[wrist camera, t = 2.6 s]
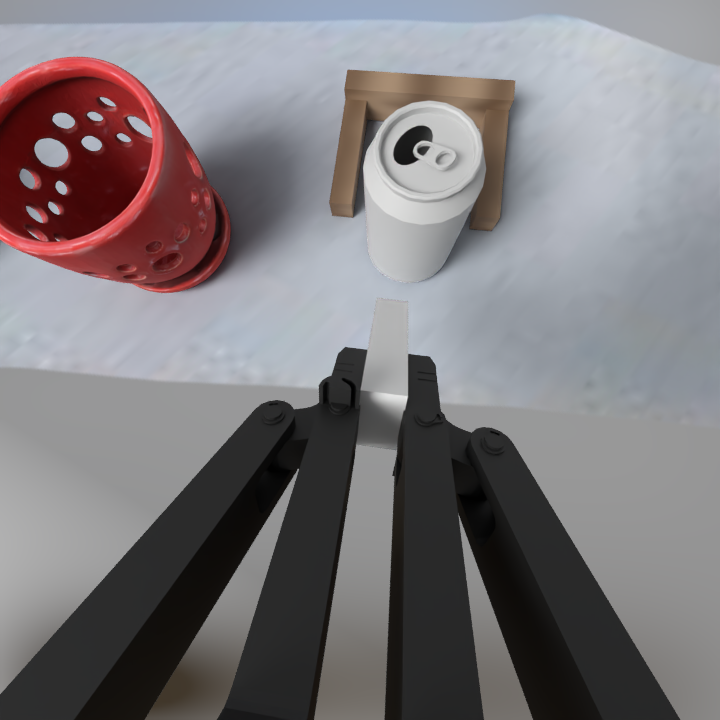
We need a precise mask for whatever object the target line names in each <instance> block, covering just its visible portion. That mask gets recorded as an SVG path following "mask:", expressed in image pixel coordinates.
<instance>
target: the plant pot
mask: <svg viewBox="0 0 720 720" xmlns="http://www.w3.org/2000/svg"><path fill="white" fill-rule="evenodd" d="M100 97H105V98H108V99H110V100H111V101H112V102H114V104H115V105H116V107H113V106H109V105H107V104H105V103H104V102H102V101H101V100H100ZM88 112H96V113H98V114H100V115H102V117H103V120H102V121H94V120H92V119H90V118H89V117H88V116H87V113H88ZM56 113H67V114H69V115H70V116H71V117H73V118H74V120H75V125H74V126H73V127H72V128H69V129H64V128H61V127H59V126H57V125H56V124H55V123H54V122H53V121H52V118H53V116H54V115H55V114H56ZM128 116H132V117H134V116H135V117H138V118H139V119H141V120H142V121H144V122H145V123H146V124H147V125H148V126H149V127H150V128H151V129H152V137H153V138H150V137H147V136H145V135H143V134H141V133H140V132H138V131H137V130H135V129H134V128H133V127H132V126H131V124H130V123H129V121H128V119H127V117H128ZM119 133H123V134H125V135H127V136H128V137H129V138H130V139H131V142H123V141H121V140H120V139H119V138H118V137H117V134H119ZM85 136H93V137H96V138H97V139H98V140H100V141H101V143H102V147H101V149H100V150H98V151H90V150H88V149H86V148H85V147H84V146H83V145H82V143H81V141H82V139H83V138H84V137H85ZM44 138H52V139H55V140H58V141H60V142H61V143H62V144H64V145H65V147H66V148H67V151H68V159H67V161H66V162H65V164H63V165H62V166H59V167H49V166H46V165H45V164H43V163H41V161H40V160H39V159H38V158H37V156H36V154H35V150H34V147H35V144H36V142H37V141H38V140H40V139H44ZM23 168H24V169H26V170H28V171H29V172H30V173H31V174H32V175H33V177H34V179H35V187H34V188H33V189H30V188H28V187H26V186H25V185H24V184H23V183H22V182H21V180H20V177H19V174H20V171H21V169H23ZM57 181H61V182H63V183H64V184H65V185H66V187H67V193H66V194H65V195H62V194H60V193H59V192H58V191H57V190H56V188H55V185H56V182H57ZM49 201H50V202H52V203H54V204H55V205H56V206H57V207H58V209H59V211H60V214H59V215H57V214H54V213H53V212H52V211H51V210H50V209H49V207H48V202H49ZM26 206H29V207H31V208H33V209H34V210H36V211H37V212H38V213H39V214H40V215H41V217H42V220H43V223H40V222H38V221H36V220H35V219H33V218H32V217H31V216H30V215H29V213H28V212H27V210H26ZM27 230H28V231H30V232H31V233H33V234H34V235H35V236H37V237H38V238H39V239H40V240H39V239H37V238H35V237H34V236H32V235H31V234H30V233H29V232H28V231H27ZM230 233H231V226H230V218H229V214H228V211H227V208H226V206H225V204H224V202H223V200H222V199H221V197H220V195H219V194H218V193H217V192H216V190H215V189H214V188H213V187H212V186H210V184H209V181H208V179H207V176H206V174H205V172H204V170H203V168H202V166H201V164H200V162H199V160H198V158H197V156H196V155H195V153H194V151H193V149H192V148H191V146H190V144H189V143H188V141H187V140H186V138H185V137H184V136H183V135H182V133H181V132H180V130H179V129H178V127H177V126H176V124H175V123H174V121H173V120H172V118H171V117H170V116H169V114H168V113H167V112H166V110H165V109H164V108H163V107H162V105H161V104H160V103H159V102H158V101H157V99H156V98H155V97H154V96H153V95H152V93H151V92H150V91H149V90H148V89H147V88H146V87H145V86H144V84H142V83H141V82H140V81H139V80H138V79H137V78H135V77H134V76H133V75H131V74H130V73H128V72H127V71H125V70H124V69H122V68H120V67H119V66H116V65H114V64H112V63H109V62H106V61H103V60H99V59H95V58H88V57H66V58H59V59H54V60H50V61H47V62H43V63H40V64H38V65H35V66H32V67H30V68H28V69H26V70H24V71H22V72H20V73H19V74H17V75H15V76H14V77H12V78H11V79H10V80H8V81H7V82H6V83H5V84H3V85H2V86H1V87H0V240H1V241H3V242H4V243H6V244H7V245H9V246H11V247H13V248H15V249H17V250H19V251H22V252H24V253H27V254H29V255H32V256H34V257H37V258H39V259H42V260H44V261H47V262H49V263H52V264H55V265H57V266H60V267H63V268H65V269H69V270H72V271H75V272H78V273H81V274H85V275H89V276H93V277H97V278H103V279H108V280H112V281H117V282H123V283H132V284H134V285H136V286H138V287H140V288H142V289H145V290H148V291H153V292H159V293H172V292H179V291H183V290H186V289H189V288H192V287H194V286H196V285H198V284H199V283H201V282H202V281H204V280H206V279H207V278H208V277H209V276H210V275H211V274H212V273H213V272H214V271H215V270H216V269H217V268H218V266H219V265H220V264H221V262H222V260H223V259H224V257H225V254H226V252H227V249H228V245H229V242H230ZM55 238H56V239H58V240H60V241H57V240H56V239H55Z"/></svg>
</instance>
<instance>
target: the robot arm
mask: <svg viewBox="0 0 720 720" xmlns="http://www.w3.org/2000/svg"><path fill="white" fill-rule="evenodd" d="M356 445H363V446H370V447H378V448H385V449H392V450H396V449H397V457H396V462H395V466H394V471H393V476H395V478H394V502H393V503H394V504H393V526H392V551H391V575H390V600H389V623H388V647H387V671H386V695H385V720H484V717H483V709H482V701H481V694H480V687H479V686H480V685H479V678H478V669H477V662H476V653H475V645H474V637H473V630H472V621H471V613H470V606H469V597H468V589H467V581H466V573H465V565H464V557H463V549H462V541H461V533H460V525H459V517H458V514H459V516H460V519H461V522H462V524H463V527H464V530H465V533H466V536H467V538H468V541H469V544H470V546H471V549H472V552H473V555H474V557H475V560H476V563H477V566H478V569H479V571H480V574H481V577H482V580H483V583H484V585H485V588H486V591H487V594H488V596H489V599H490V602H491V605H492V607H493V610H494V613H495V616H496V618H497V621H498V624H499V627H500V629H501V632H502V635H503V638H504V640H505V643H506V646H507V649H508V651H509V654H510V657H511V660H512V663H513V665H514V668H515V671H516V673H517V676H518V679H519V682H520V684H521V687H522V690H523V693H524V696H525V698H526V701H527V704H528V707H529V709H530V712H531V715H532V718H533V720H680V718H679V717H678V715H677V714H676V712H675V710H674V709H673V707H672V705H671V704H670V702H669V700H668V699H667V697H666V695H665V694H664V692H663V690H662V689H661V687H660V685H659V684H658V682H657V681H656V679H655V677H654V676H653V674H652V672H651V671H650V669H649V667H648V666H647V664H646V662H645V661H644V659H643V657H642V656H641V654H640V652H639V651H638V649H637V648H636V646H635V644H634V643H633V641H632V639H631V638H630V636H629V634H628V633H627V631H626V629H625V628H624V626H623V624H622V623H621V621H620V619H619V618H618V616H617V614H616V613H615V611H614V610H613V608H612V606H611V604H610V603H609V601H608V600H607V598H606V596H605V595H604V593H603V591H602V590H601V588H600V586H599V585H598V583H597V581H596V580H595V578H594V576H593V575H592V573H591V571H590V570H589V568H588V567H587V565H586V563H585V562H584V560H583V558H582V556H581V555H580V553H579V552H578V550H577V548H576V547H575V545H574V543H573V542H572V540H571V538H570V537H569V535H568V533H567V532H566V530H565V528H564V527H563V525H562V523H561V522H560V520H559V519H558V517H557V515H556V513H555V512H554V510H553V509H552V507H551V505H550V504H549V502H548V500H547V499H546V497H545V495H544V494H543V492H542V490H541V489H540V487H539V486H538V484H537V482H536V480H535V479H534V477H533V476H532V474H531V472H530V470H529V469H528V467H527V466H526V464H525V462H524V461H523V459H522V457H521V456H520V454H519V452H518V451H517V449H516V448H515V446H514V444H513V443H512V441H511V440H510V439H509V438H508V437H507V436H506V435H505V434H503V433H502V432H500V431H498V430H495V429H493V428H486V427H482V428H478V429H476V430H475V431H474V432H472V433H470V432H468V431H465V430H463V429H460V428H458V427H456V426H454V425H452V424H451V423H450V422H448V421H447V420H446V418H445V415H444V414H443V413H442V412H441V409H440V401H439V392H438V384H437V375H436V366H435V364H434V362H433V361H432V359H431V358H430V357H428V356H420V355H412V354H408V301H401V300H392V299H383V298H377V300H376V305H375V311H374V317H373V322H372V328H371V334H370V339H369V345H368V350H364V349H356V348H348V347H345V348H344V349H343V350H342V351H341V352H340V353H338V356H337V359H336V364H335V366H334V370H333V373H332V376H329V377H327V378H325V379H324V380H322V382H321V383H320V385H319V403H318V404H317V405H315V406H312V407H308V408H303V409H295V410H294V409H293V407H292V406H291V405H290V404H288V403H286V402H284V401H278V400H275V401H269V402H266V403H263V404H261V405H260V406H259V407H257V408H256V409H255V410H254V411H253V412H252V414H251V415H250V416H249V417H248V418H247V419H246V420H245V421H244V422H243V424H242V425H241V426H240V427H239V428H238V429H237V430H236V431H235V432H234V434H233V435H232V436H231V437H230V438H229V439H228V440H227V442H226V443H225V444H224V445H223V446H222V447H221V448H220V449H219V450H218V451H217V453H216V454H215V455H214V456H213V457H212V458H211V459H210V461H209V462H208V463H207V464H206V465H205V466H204V467H203V468H202V469H201V471H200V472H199V473H198V474H197V475H196V476H195V477H194V478H193V479H192V481H191V482H190V483H189V484H188V485H187V486H186V487H185V488H184V490H183V491H182V492H181V493H180V494H179V495H178V496H177V497H176V498H175V500H174V501H173V502H172V503H171V504H170V505H169V506H168V507H167V509H166V510H165V511H164V512H163V513H162V514H161V515H160V516H159V517H158V519H157V520H156V521H155V522H154V523H153V524H152V525H151V527H150V528H149V529H148V530H147V531H146V532H145V533H144V534H143V536H142V537H141V538H140V539H139V540H138V541H137V542H136V543H135V544H134V546H133V547H132V548H131V549H130V550H129V551H128V552H127V553H126V554H125V555H124V557H123V558H122V559H121V560H120V561H119V562H118V564H116V566H115V567H114V568H113V569H112V570H111V571H110V572H109V573H108V575H107V576H106V577H105V578H104V579H103V580H102V581H101V582H100V584H99V585H98V586H97V587H96V588H95V589H94V590H93V591H92V593H91V594H90V595H89V596H88V597H87V598H86V599H85V600H84V601H83V602H82V604H81V605H80V606H79V607H78V608H77V609H76V611H74V613H73V614H72V615H71V616H70V617H69V618H68V619H67V620H66V621H65V623H64V624H63V625H62V626H61V627H60V628H59V629H58V630H57V632H56V633H55V634H54V635H53V636H52V637H51V638H50V639H49V641H48V642H47V643H46V644H45V645H44V646H43V647H42V648H41V649H40V651H39V652H38V653H37V654H36V655H35V656H34V657H33V658H32V660H31V661H30V662H29V663H28V664H27V665H26V666H25V668H23V670H22V671H21V672H20V673H19V674H18V675H17V676H16V677H15V679H14V680H13V681H12V682H11V683H10V684H9V685H8V686H7V688H6V689H5V690H4V691H3V692H2V693H1V694H0V720H145V718H146V717H147V715H148V713H149V712H150V710H151V708H152V707H153V705H154V703H155V702H156V700H157V699H158V697H159V695H160V694H161V692H162V690H163V689H164V687H165V685H166V684H167V682H168V681H169V679H170V677H171V676H172V674H173V672H174V671H175V669H176V668H177V666H178V664H179V662H180V661H181V659H182V658H183V656H184V654H185V653H186V651H187V650H188V648H189V646H190V645H191V643H192V641H193V640H194V638H195V636H196V635H197V633H198V631H199V630H200V628H201V627H202V625H203V623H204V622H205V620H206V618H207V617H208V615H209V614H210V612H211V610H212V609H213V607H214V605H215V604H216V602H217V600H218V599H219V597H220V596H221V594H222V592H223V591H224V589H225V587H226V586H227V584H228V583H229V581H230V579H231V578H232V576H233V574H234V573H235V571H236V569H237V568H238V566H239V565H240V563H241V561H242V559H243V558H244V556H245V555H246V553H247V551H248V550H249V548H250V546H251V545H252V543H253V542H254V540H255V538H256V537H257V535H258V533H259V532H260V530H261V529H262V527H263V525H264V524H265V522H266V520H267V519H268V517H269V516H270V514H271V512H272V510H273V509H274V507H275V505H276V504H277V502H278V500H279V499H280V497H281V496H282V494H283V493H284V491H285V489H286V488H287V486H288V484H289V483H290V481H291V480H292V478H293V476H294V474H295V473H296V471H297V469H299V472H298V475H297V479H296V481H295V485H294V488H293V491H292V494H291V497H290V501H289V504H288V507H287V511H286V514H285V517H284V520H283V523H282V527H281V530H280V533H279V536H278V540H277V543H276V546H275V549H274V553H273V556H272V559H271V562H270V566H269V569H268V572H267V575H266V579H265V582H264V585H263V588H262V591H261V595H260V598H259V601H258V604H257V608H256V611H255V614H254V617H253V620H252V624H251V627H250V631H249V634H248V637H247V640H246V643H245V646H244V650H243V653H242V656H241V660H240V663H239V666H238V669H237V672H236V675H235V679H234V682H233V685H232V688H231V691H230V694H229V697H228V700H227V702H226V704H225V707H224V709H223V710H222V712H221V714H220V715H219V717H218V719H217V720H314V716H315V710H316V703H317V697H318V691H319V684H320V677H321V671H322V664H323V658H324V652H325V646H326V639H327V632H328V626H329V620H330V613H331V607H332V600H333V594H334V588H335V581H336V575H337V568H338V562H339V555H340V549H341V542H342V536H343V529H344V523H345V517H346V510H347V504H348V497H349V491H350V484H351V478H352V471H353V465H354V459H355V449H356Z"/></svg>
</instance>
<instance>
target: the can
mask: <svg viewBox="0 0 720 720" xmlns="http://www.w3.org/2000/svg"><path fill="white" fill-rule="evenodd" d="M483 151H484V148H483V142H482V137H481V133H480V132H479V130H478V128H477V126H476V124H475V123H474V121H473V120H472V119H471V118H470V117H469V116H468V115H466V114H465V113H464V112H463V111H462V110H461V109H458V108H456V107H454V106H452V105H450V104H447V103H443V102H436V101H422V102H415V103H411V104H409V105H406V106H404V107H402V108H400V109H397V110H396V111H395V112H394V113H393V114H391V115H390V116H389V117H388V118H387V119H385V120H384V122H383V124H382V125H381V127H380V128H379V130H378V132H377V133H376V136H375V138H374V140H373V141H372V143H371V144H370V146H369V148H368V149H367V152H366V156H365V161H364V165H363V175H364V193H365V211H366V228H367V244H368V253H369V256H370V258H371V261H372V263H373V265H374V266H375V267H376V268H377V269H378V270H379V271H380V272H381V273H382V274H383V275H384V276H386V277H388V278H390V279H392V280H394V281H398V282H404V283H412V282H420V281H423V280H425V279H427V278H429V277H432V276H433V275H434V274H435V273H436V272H437V271H439V270H440V269H441V268H442V266H443V265H444V263H445V261H446V259H447V258H448V256H449V254H450V252H451V250H452V248H453V246H454V244H455V242H456V240H457V238H458V236H459V234H460V232H461V230H462V228H463V226H464V224H465V222H466V219H467V217H468V215H469V213H470V211H471V209H472V207H473V205H474V203H475V201H476V199H477V197H478V195H479V193H480V191H481V189H482V187H483V184H484V178H485V173H486V164H485V158H484V152H483Z"/></svg>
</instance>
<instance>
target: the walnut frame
mask: <svg viewBox="0 0 720 720" xmlns="http://www.w3.org/2000/svg"><path fill="white" fill-rule="evenodd" d="M514 90H515V81H513V80H498V79H482V78H467V77H452V76H436V75H421V74H406V73H390V72H375V71H360V70H347V77H346V83H345V98H346V100H345V106H344V113H343V119H342V126H341V132H340V138H339V145H338V151H337V157H336V164H335V170H334V177H333V183H332V189H331V196H330V202H329V203H330V207H331V212H332V216H342V217H352V218H353V214H354V208H355V201H356V194H357V187H358V180H359V173H360V166H361V160H362V153H363V146H364V139H365V132H366V125H367V120H377V121H384V120H385V119H387V118H388V117H389V116H390V115H391V114H393V113H394V112H395V111H396V110H397V109H400V108H402V107H404V106H406V105H409V104H411V103H415V102H422V101H436V102H443V103H447V104H450V105H452V106H454V107H456V108H458V109H461V110H462V111H463V112H464V113H465V114H466V115H468V116H469V117H470V118H471V119H472V120H473V121H474V123H475V124H476V126H477V128H479V132H480V133H481V137H482V142H483V148H484V151H483V152H484V158H485V164H486V173H485V178H484V184H483V187H482V189H481V191H480V193H479V195H478V197H477V199H476V201H475V203H474V205H473V207H472V209H471V219H470V229H476V230H487V231H492V229H493V228H494V226H495V225H496V223H497V222H498V220H499V219H500V210H501V198H502V186H503V174H504V163H505V151H506V139H507V127H508V115H509V110H510V107H511V105H512V103H513V101H514Z"/></svg>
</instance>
